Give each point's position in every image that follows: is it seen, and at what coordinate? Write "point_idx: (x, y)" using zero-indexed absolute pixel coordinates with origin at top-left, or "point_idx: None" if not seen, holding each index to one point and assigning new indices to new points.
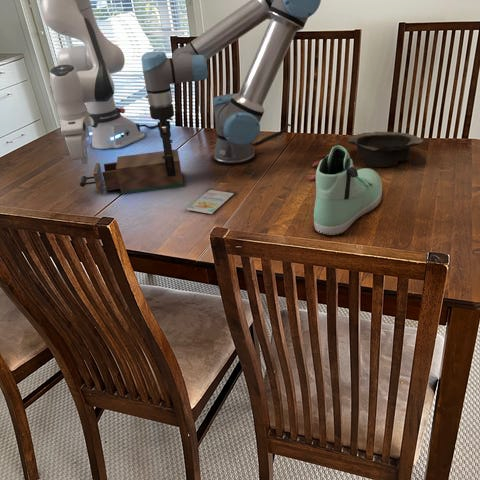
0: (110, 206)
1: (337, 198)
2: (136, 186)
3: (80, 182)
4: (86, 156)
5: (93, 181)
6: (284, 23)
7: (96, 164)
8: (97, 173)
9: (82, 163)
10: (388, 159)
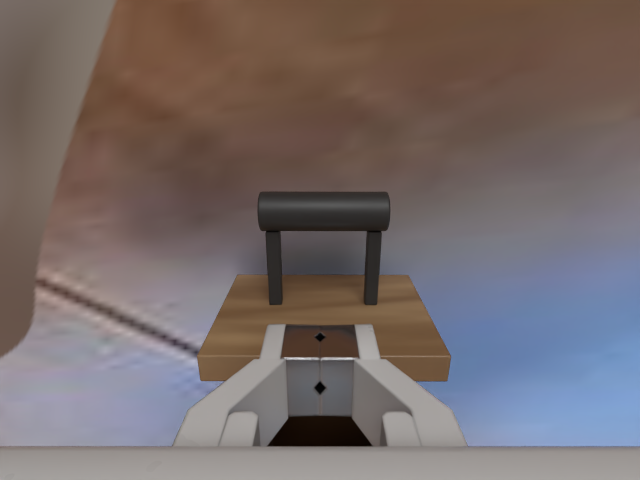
0: (108, 329)
1: None
2: None
3: (269, 202)
4: (347, 408)
5: (279, 287)
6: None
7: (412, 364)
8: (229, 373)
9: (268, 329)
10: None
